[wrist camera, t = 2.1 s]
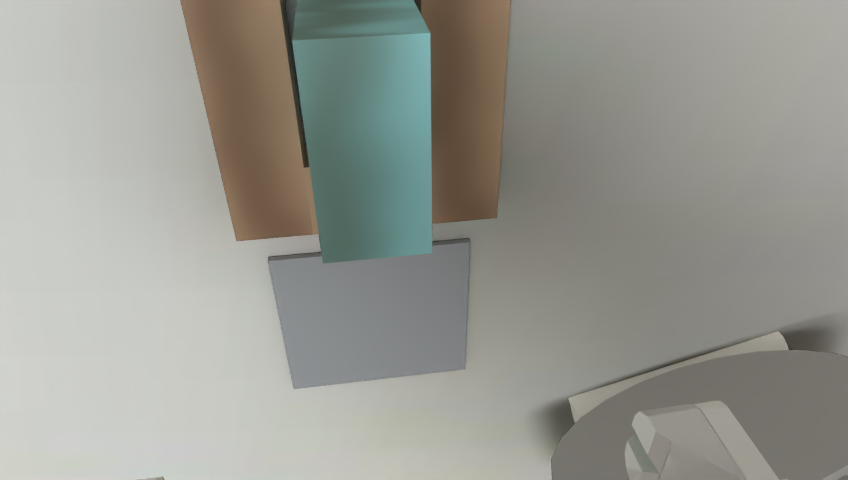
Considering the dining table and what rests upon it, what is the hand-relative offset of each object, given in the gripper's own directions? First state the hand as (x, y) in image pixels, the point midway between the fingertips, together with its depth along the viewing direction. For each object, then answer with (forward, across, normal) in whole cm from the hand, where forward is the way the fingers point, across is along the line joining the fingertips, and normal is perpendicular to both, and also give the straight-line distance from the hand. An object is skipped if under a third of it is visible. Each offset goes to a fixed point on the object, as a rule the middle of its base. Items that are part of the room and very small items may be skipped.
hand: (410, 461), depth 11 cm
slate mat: (+23, 0, -18) cm, 29 cm away
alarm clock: (+23, +23, -28) cm, 43 cm away
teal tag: (+23, 0, 0) cm, 23 cm away
